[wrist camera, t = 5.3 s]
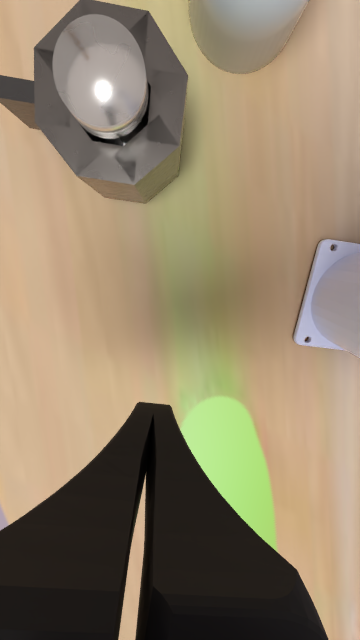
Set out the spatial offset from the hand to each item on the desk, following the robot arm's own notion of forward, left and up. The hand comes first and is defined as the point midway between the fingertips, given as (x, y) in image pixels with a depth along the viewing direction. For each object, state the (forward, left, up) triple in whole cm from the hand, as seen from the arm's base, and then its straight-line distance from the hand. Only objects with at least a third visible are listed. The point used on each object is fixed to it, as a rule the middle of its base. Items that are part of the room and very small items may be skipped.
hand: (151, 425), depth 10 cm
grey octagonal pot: (+5, -13, -10) cm, 17 cm away
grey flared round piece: (+4, -13, -10) cm, 17 cm away
